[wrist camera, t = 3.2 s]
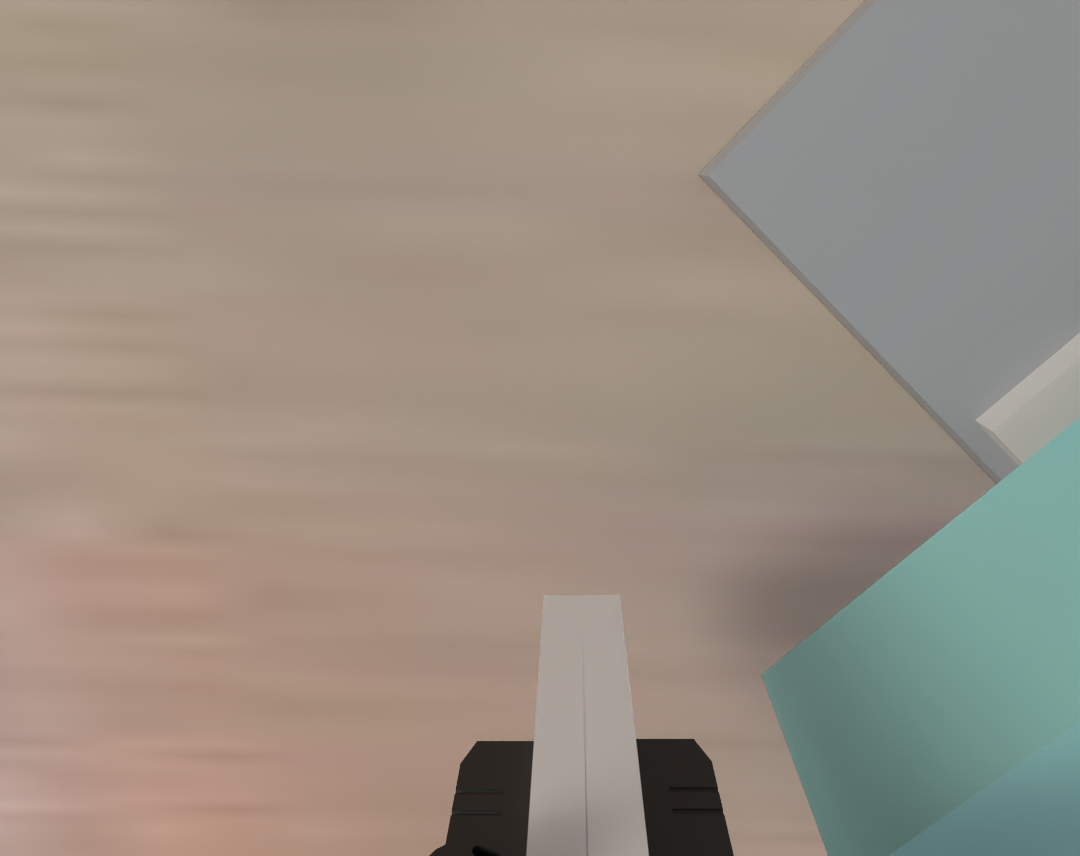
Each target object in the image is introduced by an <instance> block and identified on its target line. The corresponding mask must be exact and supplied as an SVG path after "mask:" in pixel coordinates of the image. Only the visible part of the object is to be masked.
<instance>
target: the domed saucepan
mask: <svg viewBox="0 0 1080 856" xmlns="http://www.w3.org/2000/svg"><path fill="white" fill-rule="evenodd" d="M761 675H762V678H763V680H764V683H765V686H766V689H767V691H768V694H769V697H770V699H771V702H772V705H773V708H774V710H775V713H776V716H777V718H778V721H779V724H780V726H781V729H782V732H783V735H784V737H785V740H786V743H787V745H788V748H789V751H790V753H791V756H792V759H793V762H794V764H795V767H796V770H797V772H798V775H799V778H800V781H801V783H802V786H803V789H804V791H805V794H806V797H807V799H808V802H809V805H810V808H811V810H812V813H813V816H814V818H815V821H816V824H817V827H818V829H819V832H820V835H821V837H822V840H823V843H824V845H825V848H826V851H827V854H828V856H1080V417H1079V418H1078V419H1077V420H1076V421H1074V422H1073V423H1072V424H1071V425H1069V426H1068V427H1067V428H1066V429H1064V430H1063V431H1062V432H1061V433H1060V434H1058V435H1057V436H1056V437H1055V438H1053V439H1052V440H1051V441H1050V442H1048V443H1047V444H1046V445H1045V446H1043V447H1042V448H1041V449H1040V450H1039V451H1037V452H1036V453H1035V454H1034V455H1032V456H1031V457H1030V458H1029V459H1027V460H1026V461H1025V462H1024V463H1022V464H1021V465H1020V466H1019V467H1017V468H1016V469H1015V470H1014V471H1013V472H1011V473H1010V474H1009V475H1008V476H1006V477H1005V478H1004V479H1003V480H1001V481H1000V482H999V483H998V484H996V485H995V486H994V487H993V488H992V489H990V490H989V491H988V492H987V493H985V494H984V495H983V496H982V497H980V498H979V499H978V500H977V501H975V502H974V503H973V504H972V505H970V506H969V507H968V508H967V509H966V510H964V511H963V512H962V513H961V514H959V515H958V516H957V517H956V518H954V519H953V520H952V521H951V522H949V523H948V524H947V525H946V526H945V527H943V528H942V529H941V530H940V531H938V532H937V533H936V534H935V535H933V536H932V537H931V538H930V539H928V540H927V541H926V542H925V543H923V544H922V545H921V546H920V547H919V548H917V549H916V550H915V551H914V552H912V553H911V554H910V555H909V556H907V557H906V558H905V559H904V560H902V561H901V562H900V563H899V564H898V565H896V566H895V567H894V568H893V569H891V570H890V571H889V572H888V573H886V574H885V575H884V576H883V577H881V578H880V579H879V580H878V581H876V582H875V583H874V584H873V585H872V586H870V587H869V588H868V589H867V590H865V591H864V592H863V593H862V594H860V595H859V596H858V597H857V598H855V599H854V600H853V601H852V602H851V603H849V604H848V605H847V606H846V607H844V608H843V609H842V610H841V611H839V612H838V613H837V614H836V615H834V616H833V617H832V618H831V619H829V620H828V621H827V622H826V623H825V624H823V625H822V626H821V627H820V628H818V629H817V630H816V631H815V632H813V633H812V634H811V635H810V636H808V637H807V638H806V639H805V640H804V641H802V642H801V643H800V644H799V645H797V646H796V647H795V648H794V649H792V650H791V651H790V652H789V653H787V654H786V655H785V656H784V657H782V658H781V659H780V660H779V661H778V662H776V663H775V664H774V665H773V666H771V667H770V668H769V669H768V670H766V671H765V672H764V673H763V674H761Z"/></svg>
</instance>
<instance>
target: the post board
mask: <svg viewBox="0 0 1080 856" xmlns="http://www.w3.org/2000/svg"><path fill="white" fill-rule="evenodd" d="M699 176H700V177H701V178H702V179H703V180H704V181H705V182H706V183H707V184H708V185H709V186H710V188H711V189H712V190H713V191H714V192H715V193H716V194H717V195H718V196H719V197H720V198H721V199H722V200H723V201H724V202H725V203H726V204H727V205H728V206H729V207H730V208H731V209H732V210H733V211H734V212H735V213H736V214H737V215H738V217H739V218H740V219H741V220H742V221H743V222H744V223H745V224H746V225H747V226H748V227H749V228H750V229H751V230H752V231H753V232H754V233H755V234H756V235H757V236H758V237H759V238H760V239H761V240H762V241H763V242H764V243H765V245H766V246H767V247H768V248H769V249H770V250H771V251H772V252H773V253H774V254H775V255H776V256H777V257H778V258H779V259H780V260H781V261H782V262H783V263H784V264H785V265H786V266H787V267H788V268H789V269H790V270H791V271H792V273H793V274H794V275H795V276H796V277H797V278H798V279H799V280H800V281H801V282H802V283H803V284H804V285H805V286H806V287H807V288H808V289H809V290H810V291H811V292H812V293H813V294H814V295H815V296H816V297H817V298H818V299H819V301H820V302H821V303H822V304H823V305H824V306H825V307H826V308H827V309H828V310H829V311H830V312H831V313H832V314H833V315H834V316H835V317H836V318H837V319H838V320H839V321H840V322H841V323H842V324H843V325H844V326H845V327H846V329H847V330H848V331H849V332H850V333H851V334H852V335H853V336H854V337H855V338H856V339H857V340H858V341H859V342H860V343H861V344H862V345H863V346H864V347H865V348H866V349H867V350H868V351H869V352H870V353H871V354H872V355H873V356H874V358H875V359H876V360H877V361H878V362H879V363H880V364H881V365H882V366H883V367H884V368H885V369H886V370H887V371H888V372H889V373H890V374H891V375H892V376H893V377H894V378H895V379H896V380H897V381H898V382H899V383H900V384H901V386H902V387H903V388H904V389H905V390H906V391H907V392H908V393H909V394H910V395H911V396H912V397H913V398H914V399H915V400H916V401H917V402H918V403H919V404H920V405H921V406H922V407H923V408H924V409H925V410H926V411H927V412H928V414H929V415H930V416H931V417H932V418H933V419H934V420H935V421H936V422H937V423H938V424H939V425H940V426H941V427H942V428H943V429H944V430H945V431H946V432H947V433H948V434H949V435H950V436H951V437H952V438H953V439H954V440H955V442H956V443H957V444H958V445H959V446H960V447H961V448H962V449H963V450H964V451H965V452H966V453H967V454H968V455H969V456H970V457H971V458H972V459H973V460H974V461H975V462H976V463H977V464H978V465H979V466H980V467H981V468H982V470H983V471H984V472H985V473H986V474H987V475H988V476H989V477H990V478H991V479H992V480H993V481H994V482H995V483H996V484H998V483H999V482H1000V481H1001V480H1003V479H1004V478H1005V477H1006V476H1008V475H1009V474H1010V473H1011V472H1013V471H1014V470H1015V469H1016V468H1017V467H1019V466H1020V465H1021V464H1022V463H1024V462H1025V461H1026V460H1027V459H1029V458H1030V457H1031V456H1032V455H1034V454H1035V453H1036V452H1037V451H1039V450H1040V449H1041V448H1042V447H1043V446H1045V445H1046V444H1047V443H1048V442H1050V441H1051V440H1052V439H1053V438H1055V437H1056V436H1057V435H1058V434H1060V433H1061V432H1062V431H1063V430H1064V429H1066V428H1067V427H1068V426H1069V425H1071V424H1072V423H1073V422H1074V421H1076V420H1077V419H1078V418H1079V417H1080V0H866V1H865V2H864V3H863V4H862V5H861V6H860V7H859V8H858V9H857V10H856V11H855V12H854V13H853V14H852V15H851V17H850V18H849V19H848V20H847V21H846V22H845V23H844V24H843V25H842V26H841V27H840V28H839V29H838V30H837V31H836V32H835V33H834V34H833V35H832V36H831V37H830V38H829V39H828V40H827V42H826V43H825V44H824V45H823V46H822V47H821V48H820V49H819V50H818V51H817V52H816V53H815V54H814V55H813V56H812V57H811V58H810V59H809V60H808V61H807V62H806V63H805V64H804V65H803V66H802V68H801V69H800V70H799V71H798V72H797V73H796V74H795V75H794V76H793V77H792V78H791V79H790V80H789V81H788V82H787V83H786V84H785V85H784V86H783V87H782V88H781V89H780V90H779V91H778V93H777V94H776V95H775V96H774V97H773V98H772V99H771V100H770V101H769V102H768V103H767V104H766V105H765V106H764V107H763V108H762V109H761V110H760V111H759V112H758V113H757V114H756V115H755V116H754V118H753V119H752V120H751V121H750V122H749V123H748V124H747V125H746V126H745V127H744V128H743V129H742V130H741V131H740V132H739V133H738V134H737V135H736V136H735V137H734V138H733V139H732V140H731V141H730V143H729V144H728V145H727V146H726V147H725V148H724V149H723V150H722V151H721V152H720V153H719V154H718V155H717V156H716V157H715V158H714V159H713V160H712V161H711V162H710V163H709V164H708V165H707V166H706V167H705V169H704V170H703V171H702V172H701V173H700V174H699Z"/></svg>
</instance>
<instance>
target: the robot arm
mask: <svg viewBox="0 0 1080 856" xmlns="http://www.w3.org/2000/svg"><path fill="white" fill-rule="evenodd" d="M430 856H734V855H733V851H732V846H731V842H730V838H729V834H728V829H727V825H726V821H725V816H724V814H723V808H722V804H721V799H720V795H719V792H718V786H717V782H716V778H715V774H714V769H713V765H712V761H711V760H710V759H709V758H708V756H707V755H706V754H705V753H704V751H703V750H702V749H701V748H700V746H699V745H698V744H697V743H696V741H695V740H694V739H636V735H635V726H634V717H633V708H632V699H631V690H630V680H629V671H628V662H627V653H626V644H625V635H624V626H623V617H622V608H621V599H620V595H544V599H543V613H542V628H541V643H540V658H539V673H538V688H537V703H536V718H535V733H534V741H477V742H476V744H475V745H474V746H473V748H472V749H471V750H470V752H469V753H468V754H467V756H466V757H465V758H464V760H463V761H462V762H461V764H460V770H459V775H458V780H457V786H456V794H455V796H454V802H453V807H452V815H451V818H450V823H449V829H448V834H447V839H446V845H444V846H442V847H440V848H438V849H436V850H435V851H434V852H433V853H432V854H431V855H430Z"/></svg>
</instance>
